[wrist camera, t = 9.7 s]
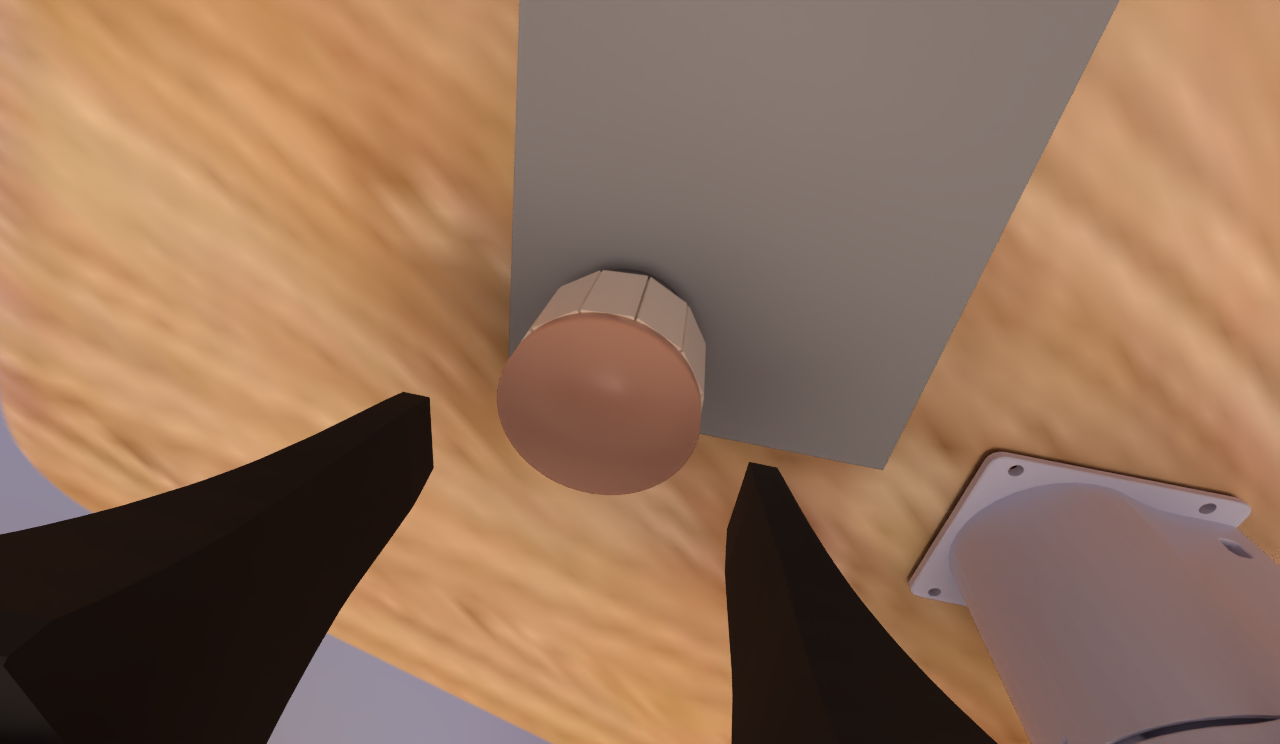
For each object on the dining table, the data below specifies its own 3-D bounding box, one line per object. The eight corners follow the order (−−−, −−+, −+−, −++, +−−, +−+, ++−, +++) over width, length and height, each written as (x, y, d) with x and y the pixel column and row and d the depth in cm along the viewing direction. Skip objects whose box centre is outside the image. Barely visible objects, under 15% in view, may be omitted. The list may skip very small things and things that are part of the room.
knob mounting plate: (1099, -33, 13) (1352, -101, 8) (872, 444, 21) (925, 571, 15) (542, -127, 13) (433, -250, 8) (520, 375, 21) (456, 475, 16)
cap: (728, 395, 17) (730, 467, 14) (584, 440, 18) (558, 513, 15) (662, 244, 15) (648, 289, 12) (505, 309, 16) (458, 364, 13)
